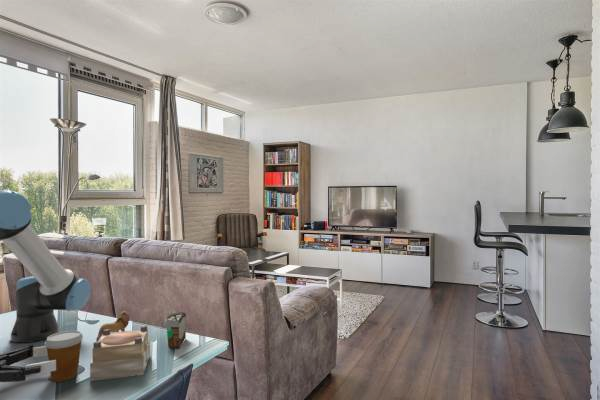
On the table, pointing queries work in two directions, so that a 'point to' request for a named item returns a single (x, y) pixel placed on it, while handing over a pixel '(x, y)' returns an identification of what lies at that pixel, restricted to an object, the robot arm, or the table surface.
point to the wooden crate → (120, 354)
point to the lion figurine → (115, 324)
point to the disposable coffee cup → (64, 354)
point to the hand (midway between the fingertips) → (58, 356)
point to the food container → (176, 329)
